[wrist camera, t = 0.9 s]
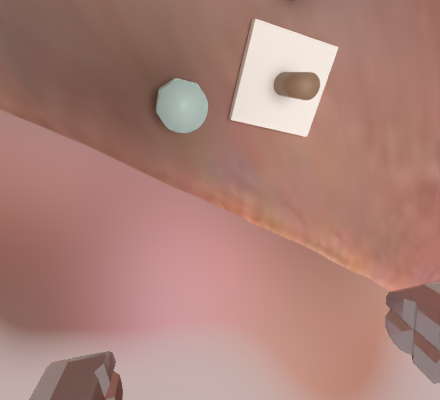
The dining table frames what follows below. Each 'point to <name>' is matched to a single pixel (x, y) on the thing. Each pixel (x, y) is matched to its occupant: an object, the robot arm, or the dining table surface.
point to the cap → (181, 105)
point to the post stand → (281, 79)
